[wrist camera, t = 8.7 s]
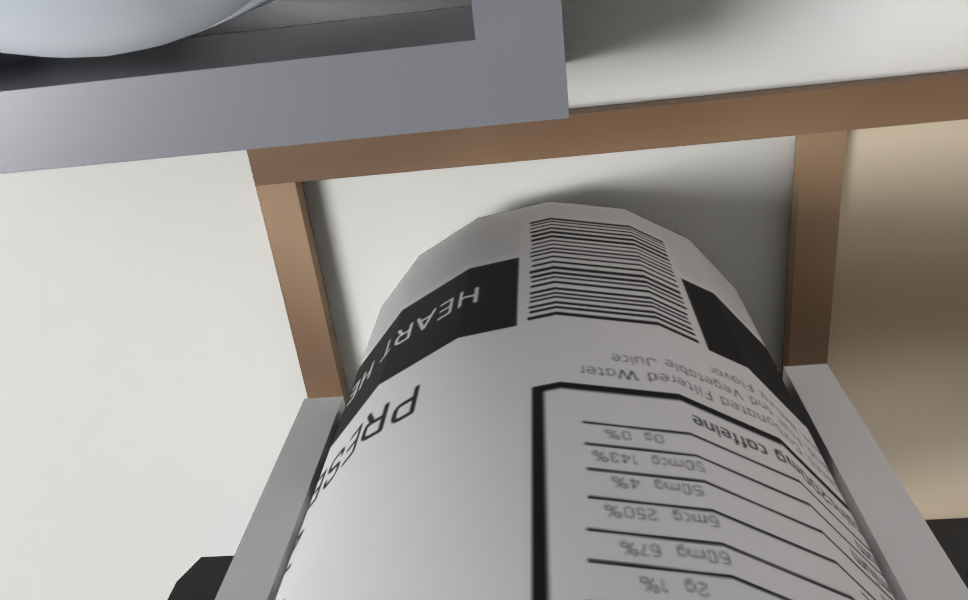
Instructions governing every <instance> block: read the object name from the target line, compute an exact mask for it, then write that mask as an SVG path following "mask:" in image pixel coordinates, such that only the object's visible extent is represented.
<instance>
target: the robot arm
mask: <svg viewBox="0 0 968 600" xmlns="http://www.w3.org/2000/svg"><path fill="white" fill-rule="evenodd" d="M783 382H784V384H785V386H786V388H787V390H788V392H789V393H790V395H791V397H792V399H793V401H794V403H795V405H796V407H797V409H798V411H799V413H800V415H801V417H802V419H803V421H804V423H805V425H806V426H807V428H808V430H809V432H810V434H811V436H812V438H813V440H814V442H815V444H816V446H817V448H818V450H819V452H820V454H821V456H822V458H823V460H824V461H825V463H826V465H827V467H828V469H829V471H830V473H831V475H832V477H833V479H834V481H835V483H836V485H837V487H838V489H839V491H840V493H841V494H842V496H843V498H844V500H845V502H846V504H847V506H848V508H849V510H850V512H851V514H852V516H853V518H854V520H855V522H856V524H857V526H858V528H859V529H860V531H861V533H862V535H863V537H864V539H865V541H866V543H867V545H868V547H869V549H870V551H871V553H872V555H873V557H874V559H875V561H876V562H877V564H878V566H879V568H880V570H881V572H882V574H883V576H884V578H885V580H886V582H887V584H888V586H889V588H890V590H891V592H892V594H893V595H894V597H895V599H896V600H968V518H958V519H938V520H924V518H923V517H922V515H921V513H920V512H919V510H918V509H917V507H916V505H915V504H914V502H913V501H912V499H911V497H910V496H909V494H908V493H907V491H906V489H905V488H904V486H903V485H902V483H901V481H900V480H899V478H898V477H897V475H896V473H895V472H894V470H893V469H892V467H891V465H890V464H889V462H888V461H887V459H886V457H885V456H884V454H883V453H882V451H881V450H880V448H879V446H878V445H877V443H876V442H875V440H874V438H873V437H872V435H871V434H870V432H869V430H868V429H867V427H866V426H865V424H864V422H863V421H862V419H861V418H860V416H859V414H858V413H857V411H856V410H855V408H854V406H853V405H852V403H851V402H850V400H849V398H848V397H847V395H846V394H845V392H844V390H843V389H842V387H841V386H840V384H839V382H838V381H837V379H836V378H835V376H834V374H833V373H832V371H831V370H830V368H829V366H828V365H827V364H815V365H800V366H785V367H784V369H783ZM344 409H345V402H344V398H343V396H339V397H324V398H309V399H304V401H303V403H302V406H301V408H300V410H299V412H298V415H297V417H296V419H295V421H294V424H293V426H292V428H291V430H290V432H289V435H288V437H287V439H286V441H285V444H284V446H283V448H282V450H281V453H280V455H279V457H278V459H277V462H276V464H275V466H274V468H273V470H272V473H271V475H270V477H269V479H268V482H267V484H266V486H265V488H264V491H263V493H262V495H261V497H260V499H259V502H258V504H257V506H256V508H255V511H254V513H253V515H252V517H251V520H250V522H249V524H248V526H247V529H246V531H245V533H244V535H243V537H242V540H241V542H240V544H239V546H238V549H237V551H236V553H235V555H234V556H217V557H201V558H200V559H199V560H198V561H197V562H196V563H195V564H194V565H193V566H192V567H191V568H190V569H189V570H188V571H187V572H186V573H185V574H184V575H183V576H182V577H181V578H180V579H179V580H178V581H177V582H176V584H175V586H174V588H173V590H172V592H171V594H170V596H169V598H168V600H275V599H276V596H277V594H278V591H279V588H280V585H281V582H282V580H283V577H284V574H285V571H286V569H287V566H288V563H289V560H290V558H291V555H292V552H293V549H294V547H295V544H296V541H297V538H298V536H299V533H300V530H301V527H302V525H303V522H304V519H305V516H306V514H307V511H308V508H309V505H310V503H311V500H312V497H313V494H314V492H315V489H316V486H317V483H318V481H319V478H320V475H321V472H322V470H323V467H324V464H325V461H326V459H327V456H328V453H329V450H330V448H331V445H332V442H333V439H334V437H335V434H336V431H337V428H338V426H339V423H340V420H341V417H342V415H343V412H344Z"/></svg>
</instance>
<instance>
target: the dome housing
mask: <svg viewBox="0 0 968 600" xmlns="http://www.w3.org/2000/svg"><path fill="white" fill-rule="evenodd" d="M471 4H472V6H467V7H458V8H449V9H440V10H432V11H423V12H414V13H405V14H396V15H387V16H379V17H370V18H361V19H352V20H343V21H334V22H325V23H317V24H308V25H299V26H290V27H281V28H272V29H264V30H255V31H246V32H237V33H228V34H219V35H210V36H202V37H193V38H184V39H179V40H176V41H173V42H170V43H167V44H164V45H161V46H157V47H152V48H148V49H144V50H138V51H133V52H128V53H122V54H117V55H111V56H103V57H78V58H57V57H39V56H29V55H19V54H8V53H1V52H0V174H4V173H15V172H25V171H35V170H45V169H55V168H65V167H76V166H86V165H96V164H106V163H116V162H126V161H137V160H147V159H157V158H167V157H177V156H187V155H197V154H208V153H218V152H228V151H238V150H248V149H258V148H269V147H279V146H289V145H299V144H309V143H319V142H329V141H340V140H350V139H360V138H370V137H380V136H390V135H401V134H411V133H421V132H431V131H441V130H451V129H461V128H472V127H482V126H492V125H502V124H512V123H522V122H533V121H543V120H553V119H563V118H569V108H568V93H567V78H566V63H565V48H564V33H563V18H562V4H561V0H471Z"/></svg>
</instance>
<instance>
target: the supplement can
mask: <svg viewBox="0 0 968 600" xmlns="http://www.w3.org/2000/svg"><path fill="white" fill-rule="evenodd" d="M275 600H896V599H895V597H894V595H893V594H892V592H891V590H890V588H889V586H888V584H887V582H886V580H885V578H884V576H883V574H882V572H881V570H880V568H879V566H878V564H877V562H876V561H875V559H874V557H873V555H872V553H871V551H870V549H869V547H868V545H867V543H866V541H865V539H864V537H863V535H862V533H861V531H860V529H859V528H858V526H857V524H856V522H855V520H854V518H853V516H852V514H851V512H850V510H849V508H848V506H847V504H846V502H845V500H844V498H843V496H842V494H841V493H840V491H839V489H838V487H837V485H836V483H835V481H834V479H833V477H832V475H831V473H830V471H829V469H828V467H827V465H826V463H825V461H824V460H823V458H822V456H821V454H820V452H819V450H818V448H817V446H816V444H815V442H814V440H813V438H812V436H811V434H810V432H809V430H808V428H807V426H806V425H805V423H804V421H803V419H802V417H801V415H800V413H799V411H798V409H797V407H796V405H795V403H794V401H793V399H792V397H791V395H790V393H789V392H788V390H787V388H786V386H785V384H784V382H783V380H782V378H781V376H780V374H779V372H778V370H777V368H776V366H775V364H774V362H773V360H772V358H771V357H770V355H769V353H768V351H767V349H766V347H765V345H764V343H763V341H762V339H761V337H760V335H759V333H758V331H757V329H756V327H755V325H754V324H753V322H752V320H751V318H750V316H749V314H748V312H747V310H746V308H745V306H744V304H743V302H742V300H741V298H740V296H739V294H738V292H737V290H736V289H735V287H734V286H733V285H732V284H731V283H730V282H729V281H728V280H727V279H726V278H725V277H724V276H723V275H722V274H721V272H720V271H719V270H718V269H717V268H716V267H715V266H714V265H713V264H712V263H711V262H710V261H709V260H708V259H707V258H706V257H705V256H704V254H703V253H702V252H701V251H700V250H699V249H698V248H697V247H696V246H695V245H694V244H693V243H692V242H691V241H690V240H689V239H687V238H685V237H683V236H681V235H679V234H676V233H674V232H672V231H670V230H668V229H666V228H664V227H662V226H659V225H657V224H655V223H653V222H651V221H649V220H647V219H645V218H643V217H640V216H638V215H636V214H634V213H632V212H630V211H628V210H626V209H620V208H610V207H600V206H591V205H581V204H571V203H561V202H551V201H549V202H545V203H541V204H537V205H532V206H528V207H524V208H519V209H515V210H511V211H506V212H502V213H498V214H494V215H489V216H485V217H481V218H477V219H476V220H474V221H473V222H471V223H469V224H468V225H466V226H465V227H463V228H462V229H460V230H459V231H457V232H455V233H454V234H452V235H451V236H449V237H448V238H446V239H445V240H443V241H441V242H440V243H438V244H437V245H435V246H434V247H432V248H431V249H429V250H427V251H426V252H424V253H423V254H421V255H420V256H419V257H418V258H417V259H416V261H415V262H414V263H413V265H412V266H411V268H410V269H409V270H408V272H407V273H406V274H405V276H404V277H403V279H402V280H401V281H400V283H399V284H398V285H397V287H396V288H395V289H394V291H393V292H392V294H391V295H390V296H389V298H388V299H387V300H386V302H385V303H384V304H383V306H382V307H381V310H380V313H379V315H378V318H377V321H376V324H375V327H374V329H373V332H372V335H371V338H370V340H369V343H368V346H367V349H366V351H365V354H364V357H363V360H362V362H361V365H360V368H359V371H358V373H357V376H356V379H355V382H354V384H353V387H352V390H351V393H350V395H349V398H348V401H347V404H346V406H345V409H344V412H343V415H342V417H341V420H340V423H339V426H338V428H337V431H336V434H335V437H334V439H333V442H332V445H331V448H330V450H329V453H328V456H327V459H326V461H325V464H324V467H323V470H322V472H321V475H320V478H319V481H318V483H317V486H316V489H315V492H314V494H313V497H312V500H311V503H310V505H309V508H308V511H307V514H306V516H305V519H304V522H303V525H302V527H301V530H300V533H299V536H298V538H297V541H296V544H295V547H294V549H293V552H292V555H291V558H290V560H289V563H288V566H287V569H286V571H285V574H284V577H283V580H282V582H281V585H280V588H279V591H278V594H277V596H276V599H275Z"/></svg>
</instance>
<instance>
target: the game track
mask: <svg viewBox="0 0 968 600" xmlns="http://www.w3.org/2000/svg"><path fill="white" fill-rule="evenodd" d="M793 135H796V139H795V156H794V173H793V191H792V208H791V225H790V243H789V260H788V277H787V295H786V312H785V329H784V347H783V364H782V380H783V369H784V367H785V366H800V365H815V364H827V365H828V366H829V368H830V370H831V371H832V373H833V374H834V376H835V378H836V379H837V381H838V382H839V384H840V386H841V387H842V389H843V390H844V392H845V394H846V395H847V397H848V398H849V400H850V402H851V403H852V405H853V406H854V408H855V410H856V411H857V413H858V414H859V416H860V418H861V419H862V421H863V422H864V424H865V426H866V427H867V429H868V430H869V432H870V434H871V435H872V437H873V438H874V440H875V442H876V443H877V445H878V446H879V448H880V450H881V451H882V453H883V454H884V456H885V457H886V459H887V461H888V462H889V464H890V465H891V467H892V469H893V470H894V472H895V473H896V475H897V477H898V478H899V480H900V481H901V483H902V485H903V486H904V488H905V489H906V491H907V493H908V494H909V496H910V497H911V499H912V501H913V502H914V504H915V505H916V507H917V509H918V510H919V512H920V513H921V515H922V517H923V518H924V520H938V519H958V518H968V70H960V71H950V72H940V73H930V74H920V75H910V76H900V77H890V78H880V79H870V80H860V81H850V82H840V83H829V84H819V85H809V86H799V87H789V88H779V89H769V90H759V91H749V92H739V93H729V94H719V95H709V96H699V97H689V98H679V99H669V100H659V101H649V102H638V103H628V104H618V105H608V106H598V107H588V108H578V109H569V118H563V119H553V120H543V121H533V122H522V123H512V124H502V125H492V126H482V127H472V128H461V129H451V130H441V131H431V132H421V133H411V134H401V135H390V136H380V137H370V138H360V139H350V140H340V141H329V142H319V143H309V144H299V145H289V146H279V147H269V148H258V149H248V150H247V153H248V157H249V161H250V166H251V170H252V174H253V178H254V182H255V186H256V190H257V194H258V198H259V202H260V206H261V210H262V214H263V218H264V222H265V226H266V230H267V234H268V238H269V242H270V246H271V250H272V254H273V258H274V263H275V267H276V271H277V275H278V279H279V283H280V287H281V291H282V295H283V299H284V303H285V307H286V311H287V315H288V319H289V323H290V327H291V331H292V335H293V339H294V343H295V347H296V351H297V355H298V360H299V364H300V368H301V372H302V376H303V380H304V384H305V388H306V392H307V396H308V399H309V398H324V397H339V396H343V398H344V402H345V406H346V404H347V401H348V398H349V396H348V391H347V387H346V382H345V378H344V373H343V369H342V364H341V360H340V355H339V350H338V346H337V341H336V337H335V332H334V328H333V323H332V319H331V314H330V310H329V305H328V301H327V296H326V292H325V287H324V283H323V278H322V274H321V269H320V264H319V260H318V255H317V251H316V246H315V242H314V237H313V233H312V228H311V224H310V219H309V215H308V210H307V206H306V201H305V197H304V192H303V188H302V183H301V182H303V181H314V180H324V179H335V178H346V177H356V176H367V175H378V174H388V173H399V172H410V171H420V170H431V169H442V168H452V167H463V166H473V165H484V164H495V163H505V162H516V161H527V160H537V159H548V158H559V157H569V156H580V155H591V154H601V153H612V152H623V151H633V150H644V149H655V148H665V147H676V146H686V145H697V144H708V143H718V142H729V141H740V140H750V139H761V138H772V137H782V136H793Z"/></svg>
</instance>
